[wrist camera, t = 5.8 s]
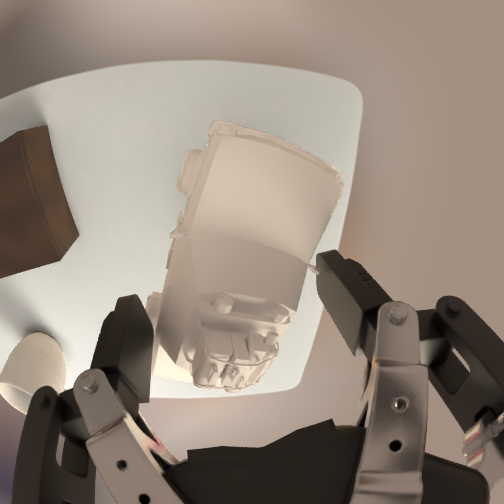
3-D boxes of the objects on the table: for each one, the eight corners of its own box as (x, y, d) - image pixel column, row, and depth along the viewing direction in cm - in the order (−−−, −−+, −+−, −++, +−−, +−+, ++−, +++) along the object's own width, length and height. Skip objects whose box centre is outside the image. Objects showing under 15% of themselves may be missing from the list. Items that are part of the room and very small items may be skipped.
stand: (-15, 162, 19) (-43, 175, 14) (47, 125, 20) (18, 131, 15) (17, 255, 26) (-3, 279, 21) (79, 235, 27) (60, 261, 22)
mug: (87, 380, 40) (76, 437, 29) (43, 372, 38) (28, 424, 26) (61, 325, 33) (36, 392, 22) (13, 318, 31) (-15, 375, 19)
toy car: (326, 160, 12) (432, 215, 6) (236, 346, 16) (258, 443, 11) (201, 111, 10) (205, 104, 4) (141, 329, 14) (131, 435, 9)
